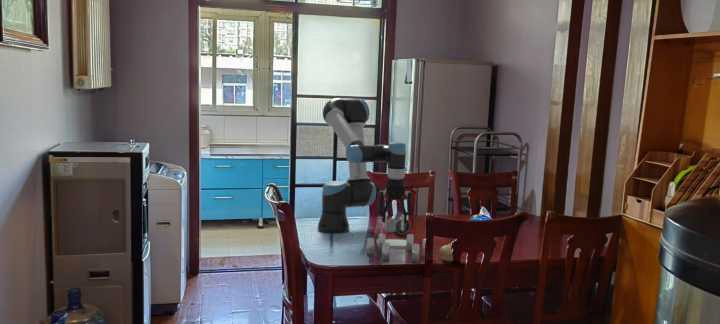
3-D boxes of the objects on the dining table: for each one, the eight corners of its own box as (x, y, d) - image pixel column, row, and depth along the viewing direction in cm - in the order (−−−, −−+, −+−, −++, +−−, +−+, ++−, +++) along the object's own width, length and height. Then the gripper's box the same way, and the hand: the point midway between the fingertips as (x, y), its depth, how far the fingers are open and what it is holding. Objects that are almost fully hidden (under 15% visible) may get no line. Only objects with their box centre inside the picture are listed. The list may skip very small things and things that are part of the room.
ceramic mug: (405, 230, 265) (406, 214, 264) (410, 234, 257) (411, 218, 256) (384, 230, 263) (385, 215, 262) (389, 235, 255) (389, 219, 254)
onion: (461, 263, 215) (462, 246, 214) (442, 263, 213) (443, 246, 212) (453, 257, 222) (454, 240, 222) (435, 257, 221) (436, 241, 220)
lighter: (388, 231, 234) (389, 213, 233) (386, 230, 235) (387, 212, 234) (401, 229, 238) (402, 211, 237) (398, 228, 239) (399, 211, 238)
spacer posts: (367, 262, 212) (368, 244, 211) (364, 249, 229) (365, 233, 229) (433, 263, 213) (434, 245, 212) (425, 250, 231) (425, 234, 230)
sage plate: (378, 248, 232) (378, 245, 232) (376, 241, 242) (376, 239, 242) (410, 248, 233) (410, 245, 233) (407, 242, 243) (407, 239, 242)
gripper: (374, 178, 229) (372, 231, 232) (419, 179, 230) (417, 232, 233) (372, 176, 237) (370, 227, 239) (416, 177, 238) (414, 228, 241)
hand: (393, 229), depth 236 cm, fingers closed on lighter, 7 cm apart
